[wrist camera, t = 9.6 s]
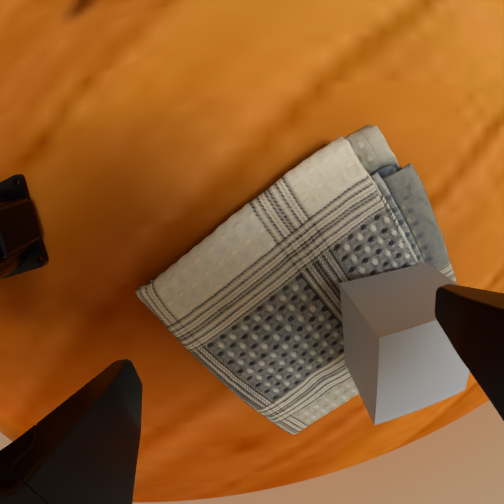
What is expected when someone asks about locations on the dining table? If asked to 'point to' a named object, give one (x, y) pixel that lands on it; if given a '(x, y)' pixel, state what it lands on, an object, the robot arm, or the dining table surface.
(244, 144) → the dining table surface
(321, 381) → the dish towel
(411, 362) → the slate block
